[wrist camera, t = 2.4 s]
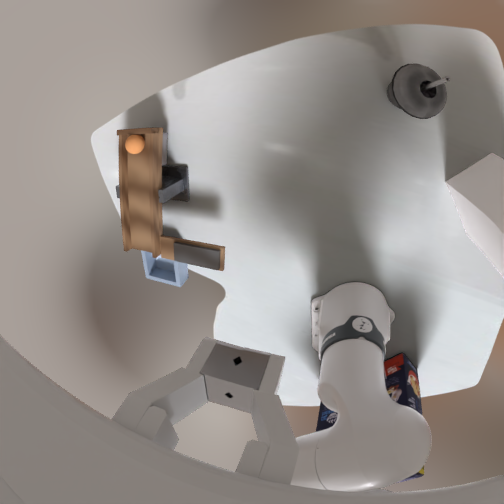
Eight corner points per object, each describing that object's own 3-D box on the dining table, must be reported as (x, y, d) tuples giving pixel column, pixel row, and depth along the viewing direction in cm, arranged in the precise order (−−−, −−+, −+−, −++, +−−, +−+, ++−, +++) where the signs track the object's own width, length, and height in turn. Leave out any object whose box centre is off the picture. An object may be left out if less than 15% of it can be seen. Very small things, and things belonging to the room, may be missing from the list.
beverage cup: (370, 97, 37) (394, 89, 20) (392, 64, 33) (428, 38, 16) (406, 124, 37) (451, 138, 20) (428, 93, 33) (483, 88, 16)
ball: (145, 156, 45) (134, 150, 42) (130, 156, 46) (118, 150, 42) (150, 138, 45) (139, 130, 42) (135, 138, 46) (124, 131, 42)
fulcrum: (189, 200, 55) (168, 215, 49) (138, 194, 58) (116, 208, 52) (188, 166, 52) (165, 177, 45) (136, 164, 55) (111, 175, 48)
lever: (229, 263, 54) (217, 277, 48) (139, 244, 58) (122, 255, 53) (237, 128, 44) (223, 127, 38) (136, 129, 48) (117, 130, 43)
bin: (188, 277, 66) (180, 287, 62) (155, 269, 68) (146, 277, 64) (185, 241, 61) (176, 250, 57) (149, 234, 63) (139, 242, 60)
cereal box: (341, 401, 74) (327, 496, 48) (319, 385, 72) (300, 489, 46) (419, 369, 60) (427, 478, 34) (403, 349, 58) (410, 472, 32)
